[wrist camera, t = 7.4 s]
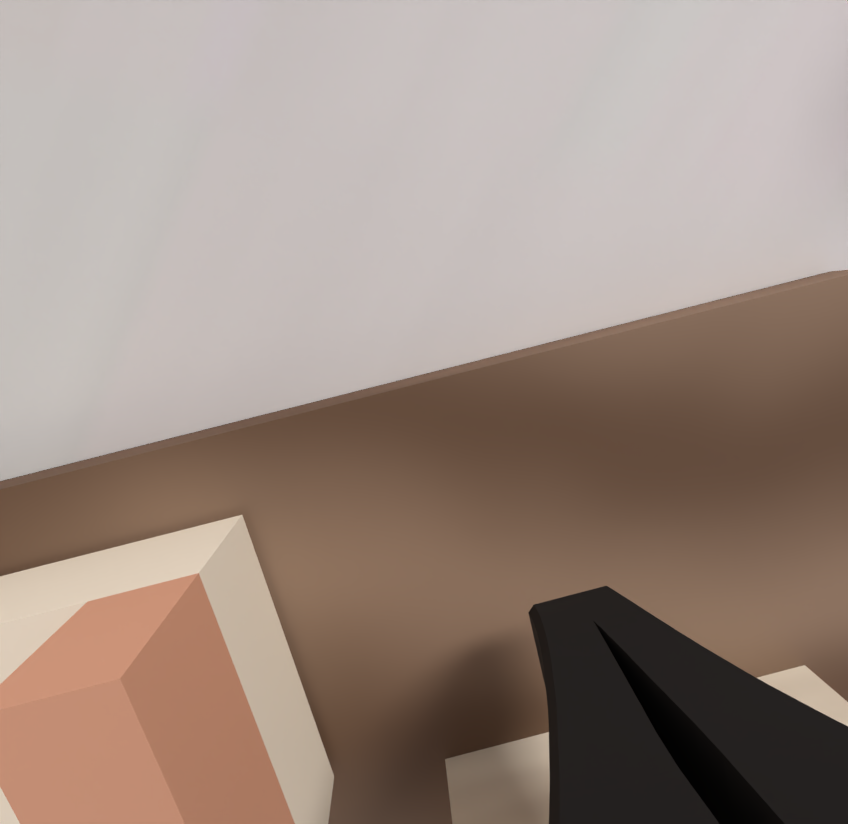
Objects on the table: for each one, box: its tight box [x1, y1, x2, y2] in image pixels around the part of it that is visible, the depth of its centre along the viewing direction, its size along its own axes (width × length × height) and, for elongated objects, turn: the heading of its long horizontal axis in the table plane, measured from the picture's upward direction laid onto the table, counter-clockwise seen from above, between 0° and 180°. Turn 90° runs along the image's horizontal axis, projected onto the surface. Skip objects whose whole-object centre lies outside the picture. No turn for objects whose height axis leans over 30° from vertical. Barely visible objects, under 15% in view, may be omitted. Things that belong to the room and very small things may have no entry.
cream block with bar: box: [0, 515, 334, 824], centre depth 7 cm, size 6×8×4 cm
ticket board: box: [0, 270, 848, 824], centre depth 10 cm, size 16×20×3 cm
